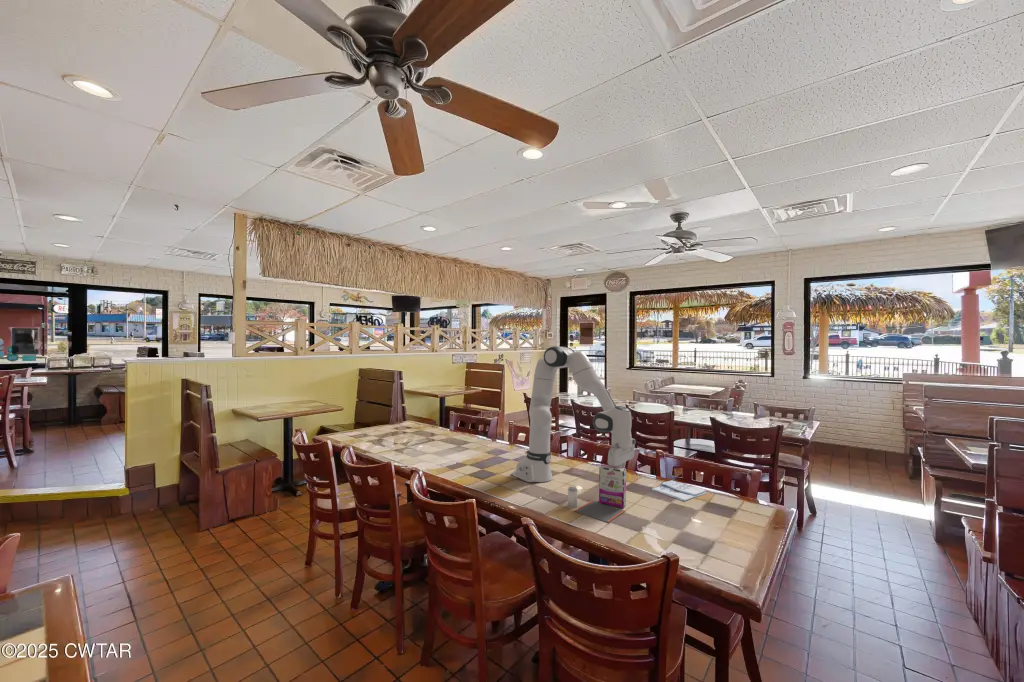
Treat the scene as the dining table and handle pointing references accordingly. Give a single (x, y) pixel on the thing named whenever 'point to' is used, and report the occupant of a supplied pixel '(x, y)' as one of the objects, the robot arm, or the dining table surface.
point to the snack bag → (686, 490)
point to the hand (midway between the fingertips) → (620, 471)
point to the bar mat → (600, 511)
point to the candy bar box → (612, 486)
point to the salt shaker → (572, 497)
